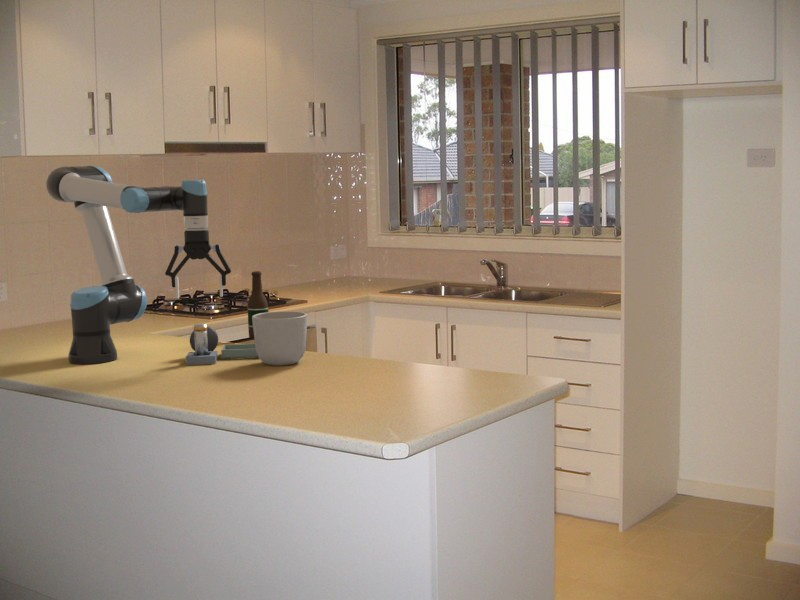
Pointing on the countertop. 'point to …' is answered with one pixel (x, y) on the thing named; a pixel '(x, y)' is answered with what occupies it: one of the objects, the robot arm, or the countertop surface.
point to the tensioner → (212, 344)
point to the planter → (280, 336)
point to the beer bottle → (256, 301)
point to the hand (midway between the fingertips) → (199, 297)
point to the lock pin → (200, 339)
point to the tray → (239, 351)
